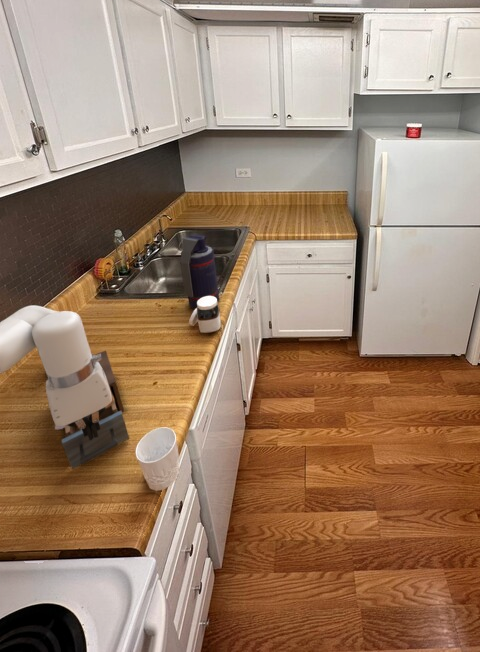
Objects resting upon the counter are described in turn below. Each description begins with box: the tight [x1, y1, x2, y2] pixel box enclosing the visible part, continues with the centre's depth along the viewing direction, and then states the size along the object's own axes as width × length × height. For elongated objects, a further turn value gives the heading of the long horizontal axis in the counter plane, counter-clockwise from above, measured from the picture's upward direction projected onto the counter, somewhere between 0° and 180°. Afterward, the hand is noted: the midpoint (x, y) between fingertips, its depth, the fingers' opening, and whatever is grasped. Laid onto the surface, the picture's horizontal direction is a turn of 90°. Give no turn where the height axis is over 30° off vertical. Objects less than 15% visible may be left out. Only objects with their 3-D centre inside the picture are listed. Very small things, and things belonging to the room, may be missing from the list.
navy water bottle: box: [178, 233, 220, 310], centre depth 130 cm, size 14×12×30 cm
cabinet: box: [61, 350, 125, 438], centre depth 89 cm, size 15×13×10 cm
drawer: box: [61, 388, 130, 470], centre depth 79 cm, size 18×12×8 cm, turn 39°
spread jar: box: [188, 296, 222, 335], centre depth 120 cm, size 12×11×12 cm
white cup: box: [135, 426, 180, 492], centre depth 72 cm, size 8×8×10 cm
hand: (93, 433), depth 73 cm, fingers closed
